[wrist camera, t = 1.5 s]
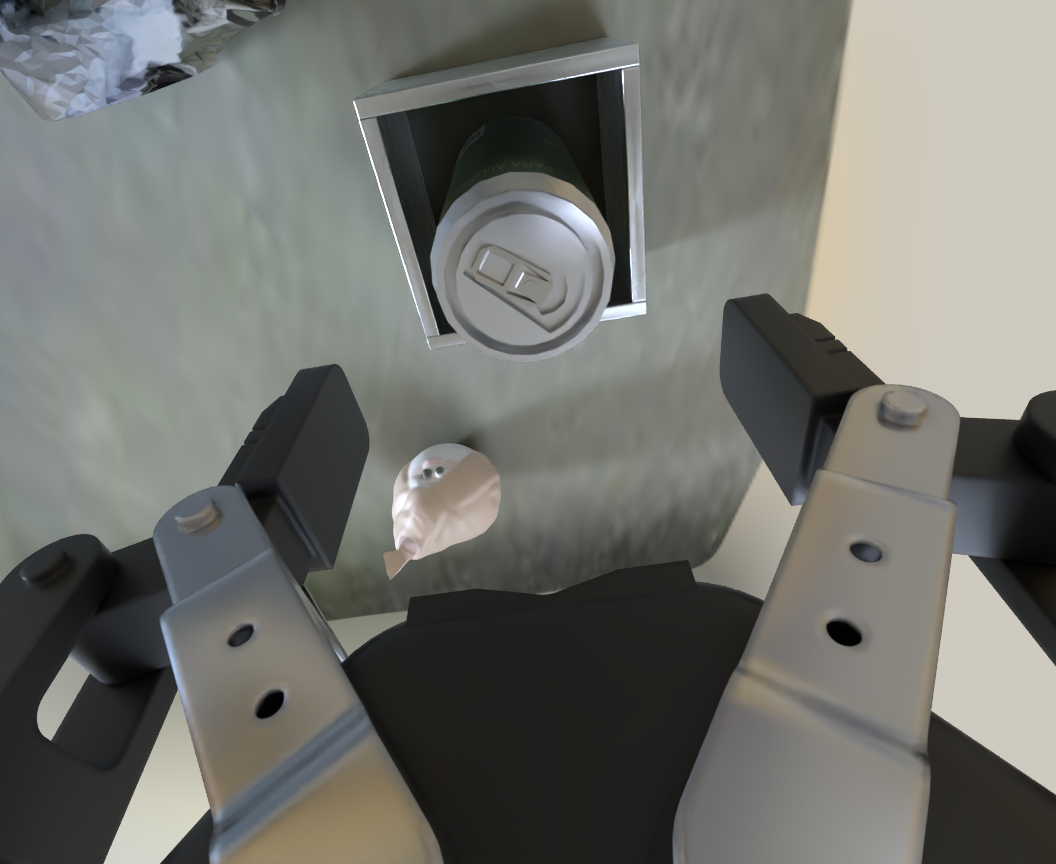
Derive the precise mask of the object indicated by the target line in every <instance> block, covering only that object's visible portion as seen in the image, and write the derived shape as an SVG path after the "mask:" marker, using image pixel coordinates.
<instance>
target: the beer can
mask: <svg viewBox="0 0 1056 864" xmlns="http://www.w3.org/2000/svg"><path fill="white" fill-rule="evenodd" d="M430 258H431V270H432V283H433V286H434V289H435V291H436V293H437V298H438V300H439V302H440V305H441V307H442V310H443V312H444V314H445V317H446V319H447V321H448V323H449V324H450V325H451V326H452V327H453V328H454V330H455V331H456V332H457V333H458V334H459V335H460V337H461V338H462V339H463V340H464V341H465V342H467V343H468V344H470V345H472V346H473V347H475V348H476V349H478V350H479V351H481V352H483V353H484V354H486V355H489V356H493V357H496V358H500V359H503V360H507V361H528V362H535V361H539V360H542V359H546V358H550V357H553V356H557V355H560V354H562V353H563V352H565V351H567V350H568V349H570V348H572V347H573V346H575V345H576V344H578V343H580V342H581V341H582V340H583V339H584V338H585V337H586V336H587V335H588V334H589V333H590V332H591V330H592V329H593V328H594V327H595V326H596V325H597V324H598V323H599V321H600V319H601V317H602V314H603V312H604V310H605V308H606V306H607V304H608V302H609V300H610V294H611V287H612V280H613V273H614V265H615V254H614V249H613V244H612V238H611V233H610V229H609V227H608V225H607V224H606V222H605V220H604V218H603V216H602V214H601V212H600V210H599V208H598V206H597V205H596V203H595V201H594V199H593V197H592V195H591V193H590V191H589V189H588V187H587V186H586V184H585V182H584V180H583V178H582V176H581V174H580V172H579V170H578V168H577V166H576V165H575V163H574V161H573V159H572V157H571V155H570V153H569V152H568V150H567V148H566V146H565V145H564V143H563V141H562V139H561V138H560V137H559V136H558V135H557V134H556V133H555V132H554V131H552V130H551V129H550V128H549V127H548V126H547V125H546V124H544V123H541V122H539V121H537V120H534V119H532V118H529V117H527V116H503V117H500V118H498V119H495V120H492V121H489V122H486V123H485V124H484V125H482V126H481V127H480V128H479V129H478V130H476V131H475V132H474V133H473V134H471V135H470V137H469V138H468V140H467V141H466V143H465V145H464V146H463V148H462V149H461V151H460V153H459V155H458V159H457V162H456V166H455V169H454V172H453V176H452V179H451V183H450V186H449V189H448V193H447V196H446V200H445V203H444V207H443V210H442V213H441V217H440V220H439V224H438V227H437V231H436V235H435V239H434V243H433V247H432V251H431V255H430Z"/></svg>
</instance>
